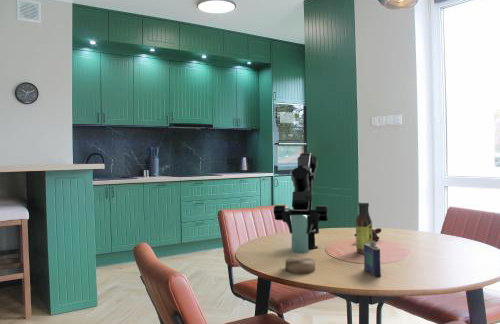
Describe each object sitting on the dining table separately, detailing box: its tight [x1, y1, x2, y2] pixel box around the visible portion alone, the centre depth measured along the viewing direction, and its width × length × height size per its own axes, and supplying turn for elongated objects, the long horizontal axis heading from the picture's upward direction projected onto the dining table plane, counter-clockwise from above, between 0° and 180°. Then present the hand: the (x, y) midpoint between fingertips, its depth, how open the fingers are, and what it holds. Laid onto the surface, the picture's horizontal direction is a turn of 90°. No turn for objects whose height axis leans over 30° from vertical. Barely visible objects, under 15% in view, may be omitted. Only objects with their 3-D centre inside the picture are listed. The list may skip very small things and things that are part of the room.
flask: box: [363, 240, 382, 278], centre depth 131 cm, size 9×3×11 cm, turn 8°
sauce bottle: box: [355, 201, 373, 254], centre depth 159 cm, size 7×6×20 cm
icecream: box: [354, 227, 383, 241], centre depth 177 cm, size 7×7×15 cm
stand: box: [284, 256, 316, 275], centre depth 136 cm, size 10×10×3 cm
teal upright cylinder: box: [290, 214, 309, 255], centre depth 136 cm, size 6×6×12 cm
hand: (299, 233), depth 135 cm, fingers closed on teal upright cylinder, 6 cm apart
